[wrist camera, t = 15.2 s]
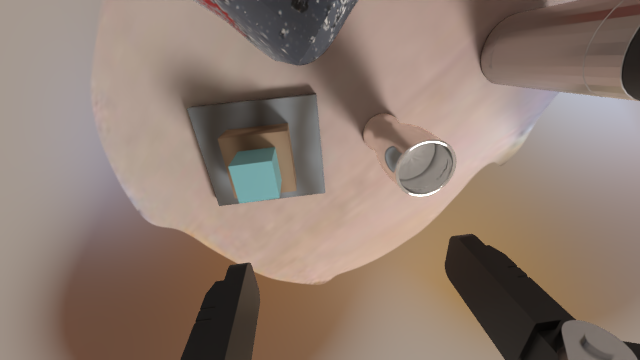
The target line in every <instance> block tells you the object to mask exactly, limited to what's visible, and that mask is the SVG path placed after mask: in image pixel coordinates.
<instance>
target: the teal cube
mask: <svg viewBox="0 0 640 360" xmlns="http://www.w3.org/2000/svg"><path fill="white" fill-rule="evenodd" d="M228 168H229V171H230V174H231V178H232V181H233V184H234V188H235V191H236V194H237V197H238V201H239V203H246V202H254V201H261V200H269V199H276V198H280V190H281V182H282V179H281V174H280V169H279V164H278V159H277V154H276V148H275V147H271V148H263V149H256V150H248V151H240V152H237V154H236V155H235V157H234V158H233V160H232V161H231V163H230V165H229V166H228Z"/></svg>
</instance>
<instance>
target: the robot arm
mask: <svg viewBox="0 0 640 360" xmlns="http://www.w3.org/2000/svg"><path fill="white" fill-rule="evenodd" d="M481 67H482V71H483V74H484V75H485V77H486V78H487V79H488V80H489V81H490V82H492V83H495V84H500V85H508V86H516V87H523V88H532V89H540V90H549V91H557V92H566V93H576V94H583V95H591V96H600V97H611V98H618V99H627V100H635V101H640V0H577V1H572V2H568V3H563V4H558V5H554V6H549V7H543V8H539V9H534V10H530V11H525V12H520V13H517V14H513V15H511V16H509V17H507V18H506V19H504V20H503V21H501V22H500V23H499V24H498V25H497V26H496V27H495V28H494V29H493V31H492V32H491V33H490V35H489V36H488V38H487V40H486V42H485V44H484V47H483V51H482V55H481ZM445 270H446V274H447V276H448V278H449V280H450V281H451V283H452V284H453V286H454V287H455V289H456V290H457V291H458V293H459V294H460V296H461V297H462V299H463V300H464V302H465V303H466V304H467V306H468V307H469V309H470V310H471V312H472V313H473V314H474V316H475V317H476V319H477V320H478V322H479V323H480V324H481V326H482V327H483V328H484V330H485V332H486V333H487V334H488V336H489V337H490V339H491V340H492V342H493V343H494V344H495V346H496V347H497V349H498V350H499V352H500V353H501V354H502V356H503V357H504V359H505V360H640V344H637V343H631V342H624V341H621V340H620V339H619V338H617V337H616V336H615V335H613V334H611V333H610V332H608V331H606V330H605V329H603V328H601V327H599V326H596V325H594V324H591V323H588V322H585V321H580V320H576V319H574V318H573V317H572V316H571V315H570V314H569V313H567V311H565V310H564V309H563V308H562V307H561V306H560V305H559V304H558V303H557V302H556V301H555V300H554V299H553V298H551V297H550V296H549V295H548V294H547V293H546V292H545V291H544V290H543V289H542V288H541V287H540V286H539V285H538V284H536V283H535V282H534V281H533V280H532V279H531V278H530V277H529V278H528V277H527V274H526V273H525V272H523V271H522V270H521V269H520V268H518V267H517V265H516V264H515V263H514V262H513V261H512V260H511V259H509V258H508V257H507V256H506V255H505V254H504V253H502V252H500V251H498V250H497V249H495V248H493V247H491V246H490V245H487V246H486V245H484V243H482V241H480V240H479V239H478V238H477V237H476V236H475V235H473V234H466V235H459V236H452V237H451V238H450V240H449V245H448V251H447V256H446V261H445ZM259 305H260V294H259V288H258V285H257V281H256V278H255V275H254V271H253V268H252V265H251V263H243V264H236V265H230V266H229V268H228V270H227V273H226V276H225V279H224V280H223V281H217V282H215V283H214V285H213V286H212V287H211V288H210V290H209V291H208V292H207V293H206V295H205V298H204V300H203V303H202V305H201V308H200V311H199V313H198V316H197V318H196V323H195V324H194V326H193V329H192V331H191V334H190V336H189V339H188V342H187V344H186V347H185V350H184V352H183V355H182V357H181V360H251V359H252V352H253V345H254V338H255V332H256V325H257V318H258V311H259Z"/></svg>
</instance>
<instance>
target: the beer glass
mask: <svg viewBox="0 0 640 360" xmlns="http://www.w3.org/2000/svg"><path fill="white" fill-rule="evenodd" d="M363 138H364V141H365V143H366V145H367V146H368V147H369V148H370V149H372V150H374V151H375V153H376V156H377V159H378V161H379V163H380V165H381V167H382V169H383V170H384V172H385V173H386V174H387V175H388V176H389V178H390V179H391V180H392V181H393V182H394V183H395V184H397V185H398V186H399V187H400V188H401V190H402V191H404V192H405V193H407V194H409V195H412V196H426V195H430V194H432V193H435V192H436V191H438V190H440V189H441V188H442V187H444V186H445V185H446V184H447V183H448V181H449V180H450V179H451V177H452V175H453V173H454V171H455V168H456V155H455V152H454V150H453V149H452V147H451V146H450V145H449V144H447V143H446V142H444V141H442V140H441V139H440V138H438V137H437V136H436V135H434V134H433V133H431V132H429V131H428V130H426V129H423V128H421V127H419V126H415V125H411V124H405V123H400V122H399V121H398V120H397V119H396V118H395V117H394V116H392V115H390V114H385V113H383V114H378V115H376V116H374V117H372V118H371V119H370V120H369V121H368V122H367V123H366V125H365V127H364V131H363Z"/></svg>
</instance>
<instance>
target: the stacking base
mask: <svg viewBox="0 0 640 360" xmlns="http://www.w3.org/2000/svg"><path fill="white" fill-rule="evenodd" d="M187 110H188V113H189V116H190V119H191V122H192V125H193V128H194V131H195V134H196V137H197V140H198V143H199V146H200V149H201V152H202V155H203V158H204V161H205V164H206V167H207V170H208V173H209V177H210V180H211V183H212V186H213V189H214V192H215V195H216V198H217V201H218V204H219V206H223V205H231V204H239V201H238V197H237V194H236V191H235V188H234V184H233V181H232V178H231V174H230V171H229V168H228V166H229V165H230V163H231V161H232V160H233V158H234V157H235V155H236V154H237V152H240V151H248V150H256V149H263V148H271V147H275V148H276V154H277V159H278V164H279V169H280V174H281V179H282V182H281V190H280V198H287V197H296V196H304V195H312V194H320V193H325V183H324V172H323V161H322V150H321V140H320V129H319V118H318V107H317V96H316V93H315V94H306V95H296V96H287V97H278V98H268V99H259V100H250V101H240V102H231V103H222V104H212V105H203V106H194V107H190V108H187ZM276 199H279V198H276ZM269 200H271V199H269ZM261 201H263V200H261ZM254 202H255V201H254ZM246 203H247V202H246Z"/></svg>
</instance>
